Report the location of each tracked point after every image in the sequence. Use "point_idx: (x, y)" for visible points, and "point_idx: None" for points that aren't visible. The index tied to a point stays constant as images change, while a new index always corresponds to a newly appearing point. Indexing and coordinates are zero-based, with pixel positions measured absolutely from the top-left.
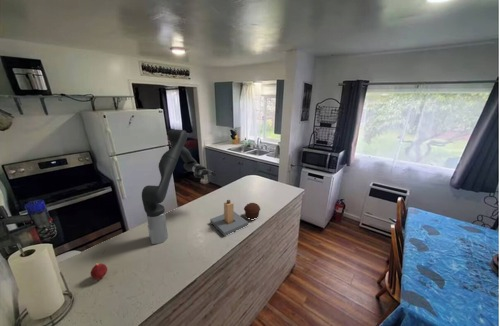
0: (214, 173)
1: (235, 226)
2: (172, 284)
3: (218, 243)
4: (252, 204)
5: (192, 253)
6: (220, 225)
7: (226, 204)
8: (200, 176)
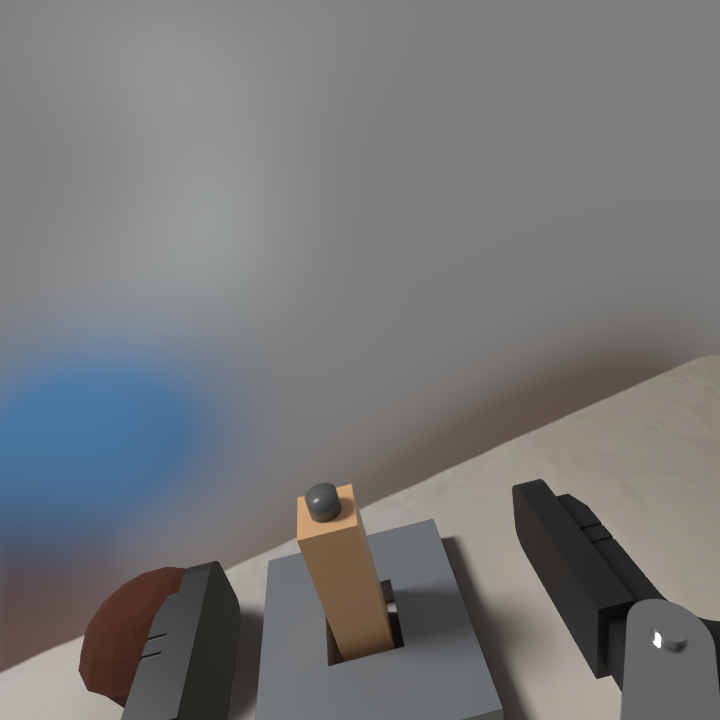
0: (214, 565)
1: None
2: (653, 402)
3: (478, 508)
4: (136, 595)
5: (610, 486)
6: (436, 586)
7: (352, 494)
8: (627, 574)
